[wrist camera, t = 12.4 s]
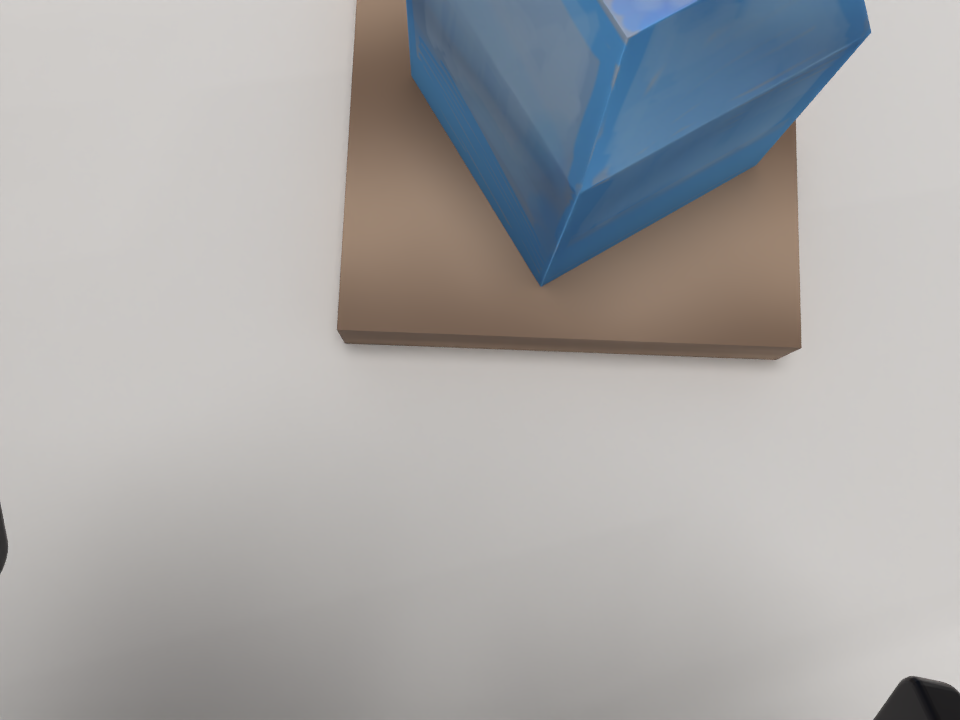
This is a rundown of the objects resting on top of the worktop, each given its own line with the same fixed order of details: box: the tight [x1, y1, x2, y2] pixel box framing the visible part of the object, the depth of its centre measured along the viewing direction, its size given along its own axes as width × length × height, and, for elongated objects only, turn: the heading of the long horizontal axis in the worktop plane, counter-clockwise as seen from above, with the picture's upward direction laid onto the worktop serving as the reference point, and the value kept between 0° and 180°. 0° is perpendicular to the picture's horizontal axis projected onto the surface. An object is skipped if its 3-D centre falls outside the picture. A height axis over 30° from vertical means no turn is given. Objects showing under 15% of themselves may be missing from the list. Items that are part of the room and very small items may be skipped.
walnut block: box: [337, 0, 801, 360], centre depth 24 cm, size 11×11×2 cm
